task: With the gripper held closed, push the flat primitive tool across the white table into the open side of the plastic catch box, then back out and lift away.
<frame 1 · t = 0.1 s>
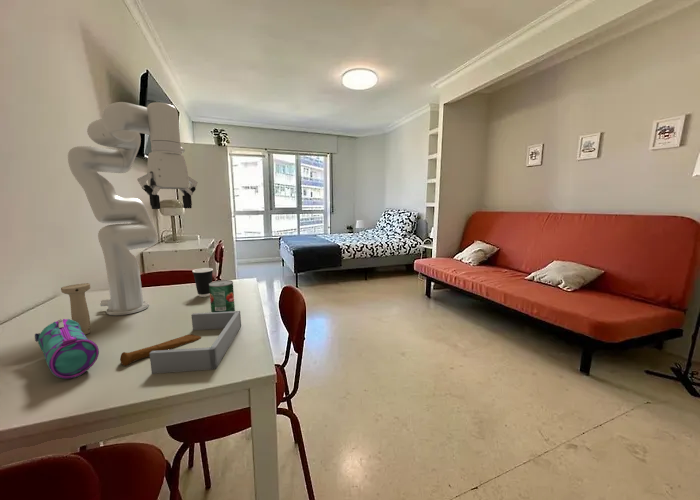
hand: (172, 208, 91), 37 cm above the table, tool pointing down, fingers open, 9 cm apart
handle: (83, 334, 92), on the table
pencil case: (69, 364, 75), on the table
dixie cup: (205, 295, 130), on the table
primitive tool: (164, 350, 82), on the table
canned tomato: (223, 313, 109), on the table
catch box: (203, 346, 83), on the table
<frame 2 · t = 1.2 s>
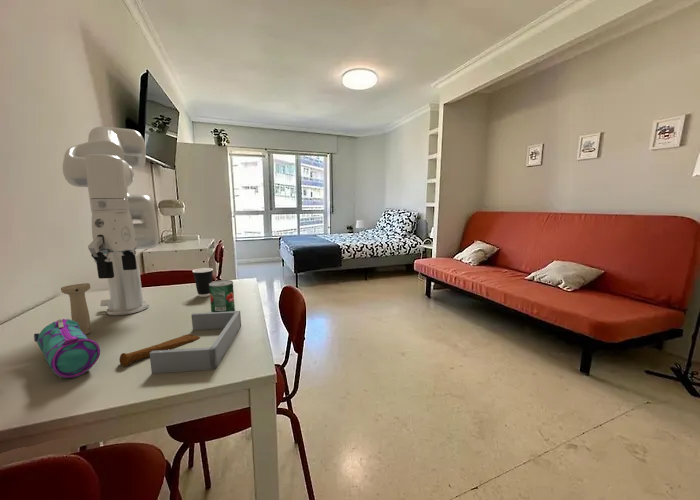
hand: (119, 273, 78), 21 cm above the table, tool pointing down, fingers open, 9 cm apart
nothing on the table moved.
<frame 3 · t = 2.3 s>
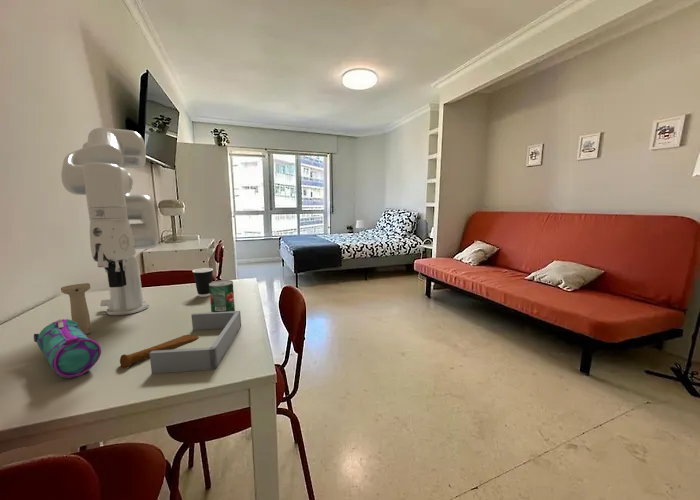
hand: (118, 286, 78), 18 cm above the table, tool pointing down, fingers closed
nothing on the table moved.
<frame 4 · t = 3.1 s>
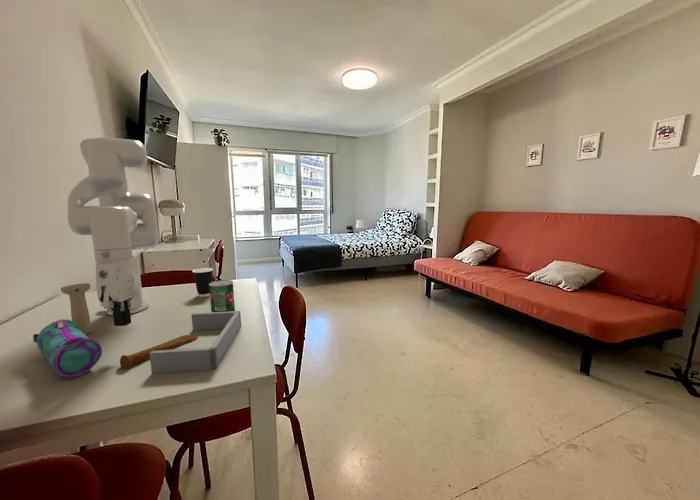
hand: (123, 324, 79), 8 cm above the table, tool pointing down, fingers closed
nothing on the table moved.
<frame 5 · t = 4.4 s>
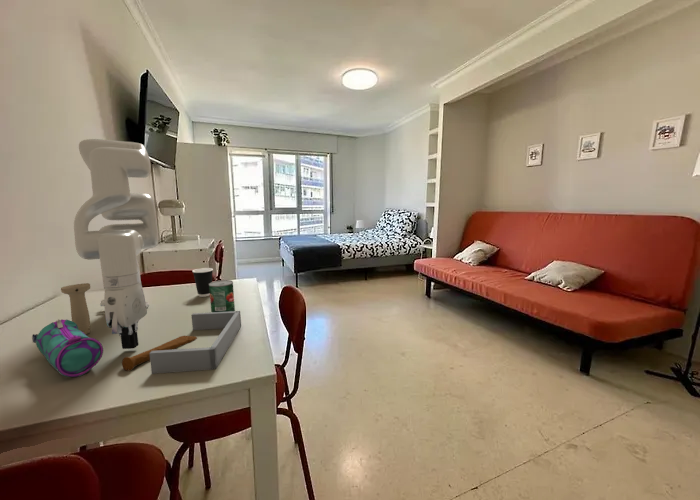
hand: (130, 347, 81), 1 cm above the table, tool pointing down, fingers closed
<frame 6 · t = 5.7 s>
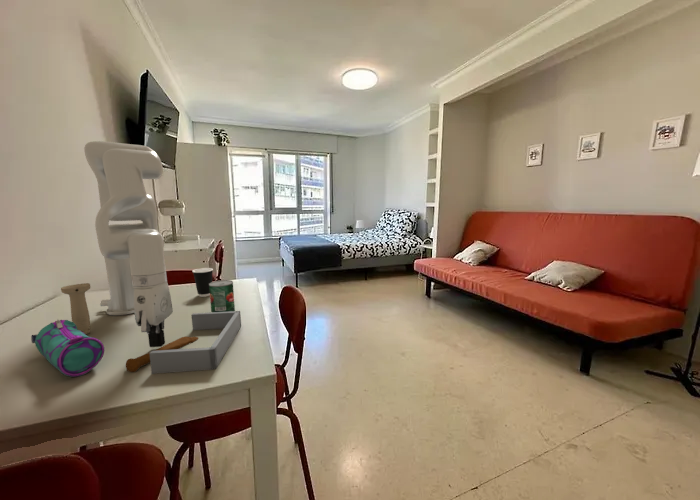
hand: (157, 345, 82), 1 cm above the table, tool pointing down, fingers closed
primitive tool: (165, 354, 80), on the table, touching gripper
everything else where it was.
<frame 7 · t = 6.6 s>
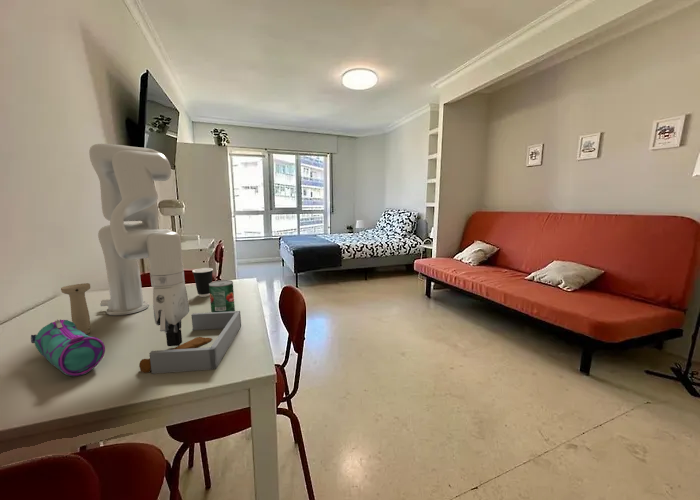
hand: (174, 344, 82), 1 cm above the table, tool pointing down, fingers closed
primitive tool: (178, 355, 80), on the table, touching gripper
everything else where it was.
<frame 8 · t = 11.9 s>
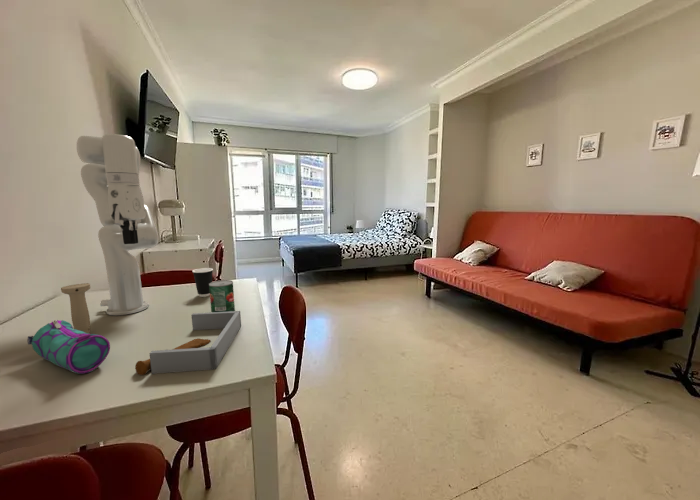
hand: (131, 243, 90), 27 cm above the table, tool pointing down, fingers closed
primitive tool: (176, 356, 79), on the table
at the end: primitive tool inside the target area (6.5 cm from its centre), on the table; primitive tool moved 6.1 cm from its start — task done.
